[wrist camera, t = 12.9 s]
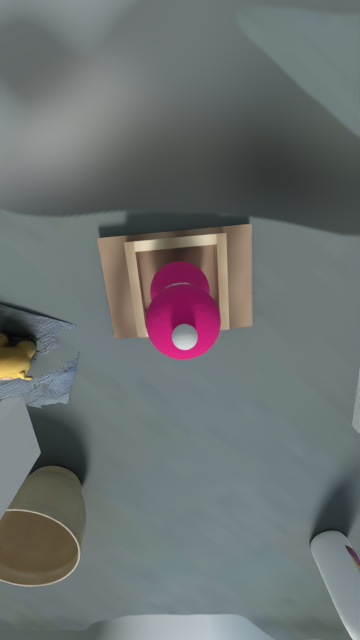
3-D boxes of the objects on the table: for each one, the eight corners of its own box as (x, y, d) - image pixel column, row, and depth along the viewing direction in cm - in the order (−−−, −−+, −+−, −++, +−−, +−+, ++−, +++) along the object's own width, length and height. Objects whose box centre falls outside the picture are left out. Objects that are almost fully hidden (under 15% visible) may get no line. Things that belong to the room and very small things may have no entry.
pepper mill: (143, 271, 36) (109, 314, 17) (193, 249, 35) (217, 268, 16) (165, 318, 38) (157, 404, 19) (213, 298, 37) (254, 367, 18)
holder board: (248, 224, 35) (257, 222, 32) (249, 322, 40) (257, 332, 36) (100, 238, 36) (91, 238, 32) (117, 334, 40) (111, 345, 36)
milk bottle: (307, 555, 56) (374, 718, 37) (311, 529, 54) (386, 690, 35) (343, 553, 57) (428, 715, 38) (349, 527, 54) (443, 687, 35)
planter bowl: (101, 453, 47) (81, 516, 37) (97, 518, 52) (78, 589, 41) (8, 444, 46) (-41, 506, 36) (12, 511, 51) (-29, 583, 40)
